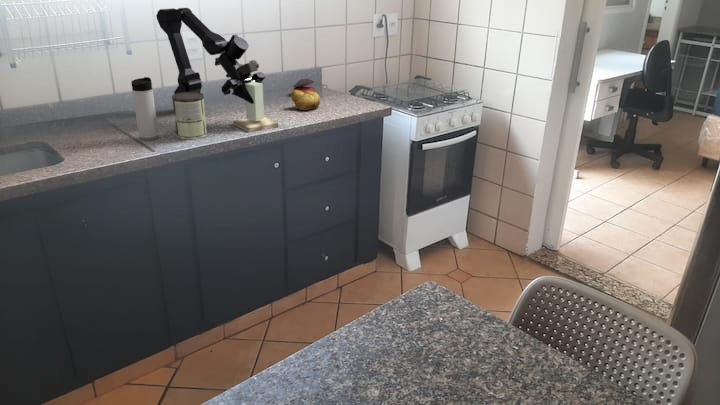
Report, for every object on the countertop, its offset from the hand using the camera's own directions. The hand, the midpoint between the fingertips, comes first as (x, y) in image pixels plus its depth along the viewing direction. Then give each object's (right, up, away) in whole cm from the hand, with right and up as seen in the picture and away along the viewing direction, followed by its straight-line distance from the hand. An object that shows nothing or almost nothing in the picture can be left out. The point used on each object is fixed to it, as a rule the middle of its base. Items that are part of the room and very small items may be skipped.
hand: (257, 101), depth 198 cm
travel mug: (-34, -15, -12) cm, 40 cm away
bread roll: (+16, +3, +30) cm, 34 cm away
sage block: (-1, -6, +3) cm, 7 cm away
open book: (-1, -8, +4) cm, 9 cm away
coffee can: (-21, -13, -8) cm, 26 cm away
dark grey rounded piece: (+12, +13, +52) cm, 55 cm away
